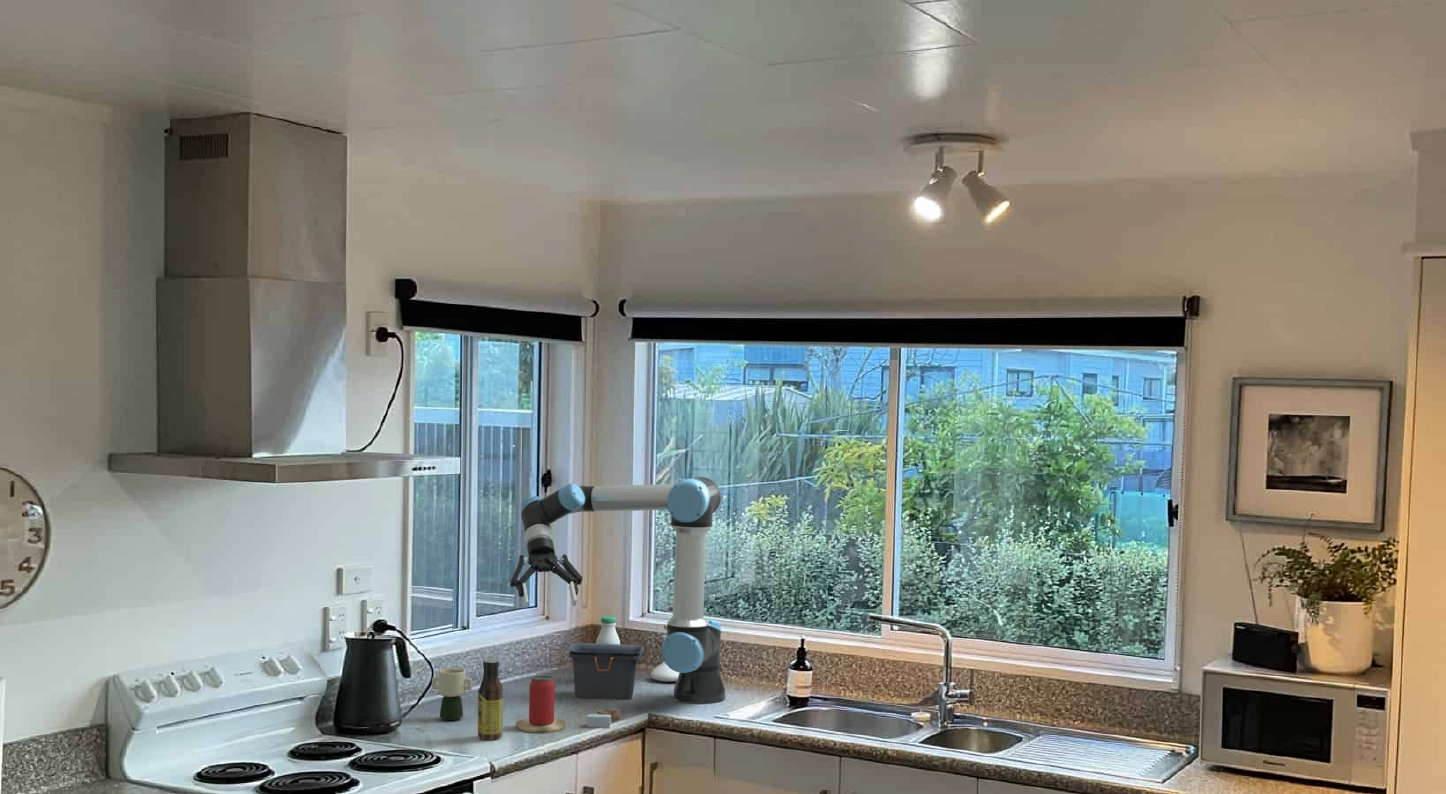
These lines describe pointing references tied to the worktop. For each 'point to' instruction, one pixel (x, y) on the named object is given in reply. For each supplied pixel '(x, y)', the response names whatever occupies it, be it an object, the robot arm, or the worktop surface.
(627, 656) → the storage bin
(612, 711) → the walnut block
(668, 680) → the flower in vase
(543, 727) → the trivet
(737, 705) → the worktop surface
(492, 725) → the sauce bottle
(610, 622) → the milk bottle
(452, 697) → the character mug
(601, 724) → the grey-blue block
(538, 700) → the beer can
